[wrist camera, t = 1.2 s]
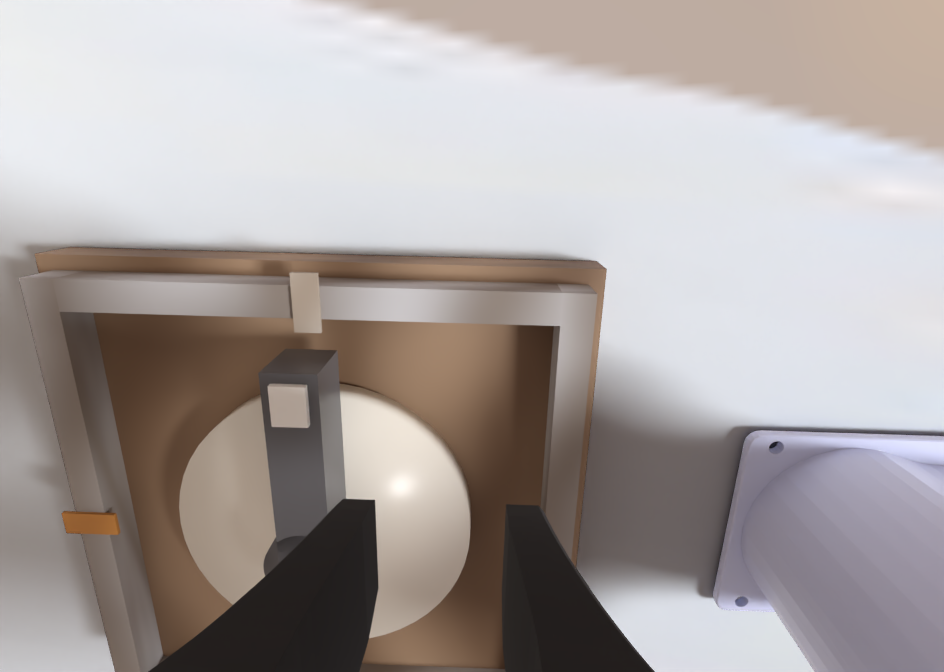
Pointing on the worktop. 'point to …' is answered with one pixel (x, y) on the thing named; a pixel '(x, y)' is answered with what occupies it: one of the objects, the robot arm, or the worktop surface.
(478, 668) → the dial housing
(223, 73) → the worktop surface
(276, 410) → the dial
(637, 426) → the worktop surface
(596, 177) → the worktop surface
